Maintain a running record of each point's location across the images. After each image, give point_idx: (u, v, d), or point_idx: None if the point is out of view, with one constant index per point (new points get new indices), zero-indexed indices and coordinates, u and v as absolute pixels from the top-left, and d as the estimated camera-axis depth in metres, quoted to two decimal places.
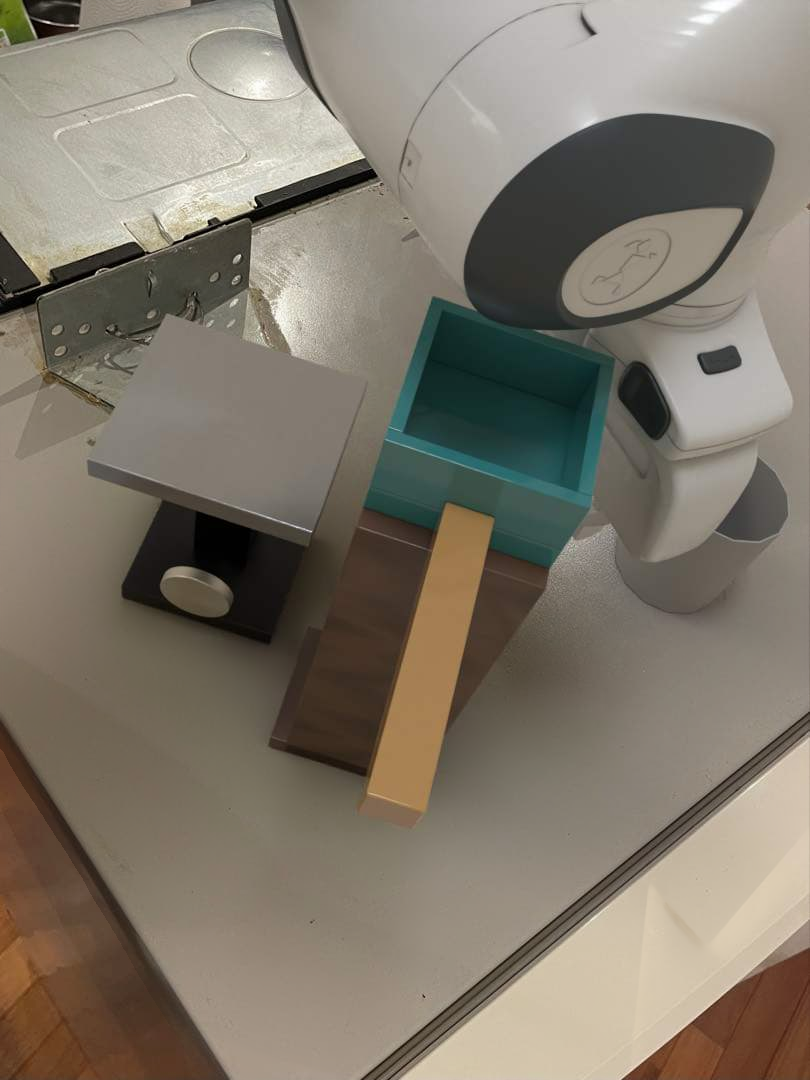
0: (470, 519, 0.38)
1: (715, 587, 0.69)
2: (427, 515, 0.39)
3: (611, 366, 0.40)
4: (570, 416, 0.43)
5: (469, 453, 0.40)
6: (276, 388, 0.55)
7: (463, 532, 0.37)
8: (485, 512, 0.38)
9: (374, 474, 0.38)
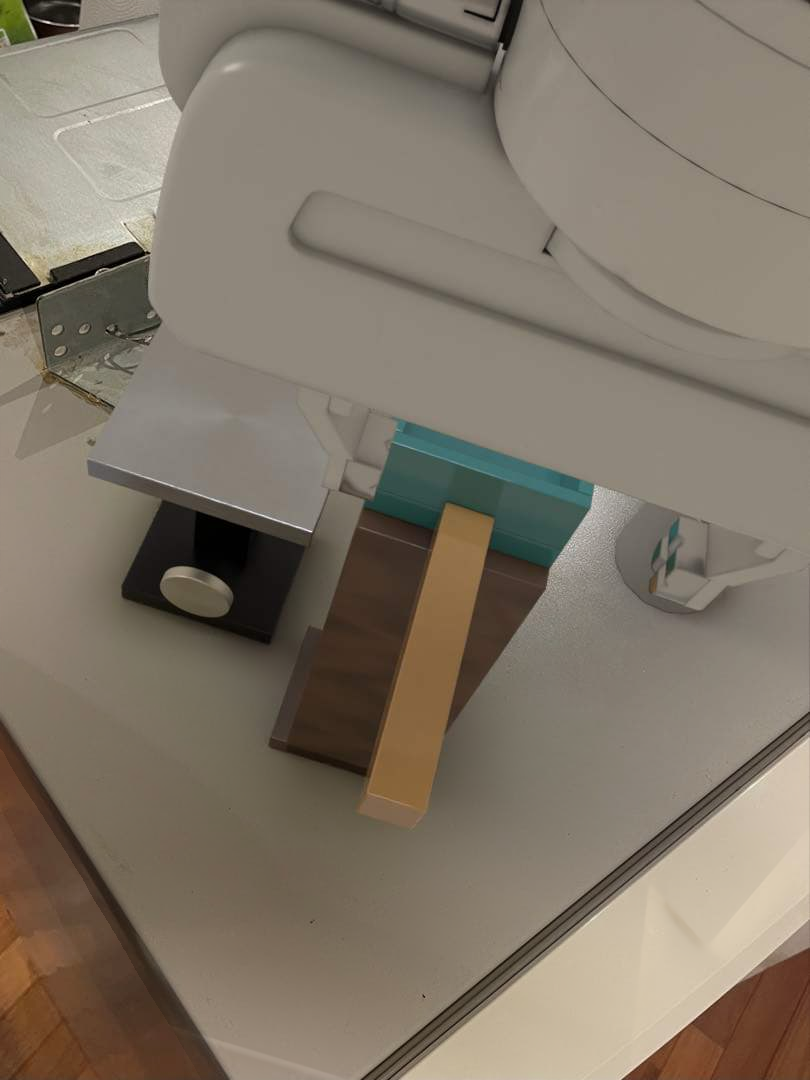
0: (470, 519, 0.38)
1: None
2: (427, 515, 0.39)
3: None
4: None
5: (469, 453, 0.40)
6: (276, 388, 0.55)
7: (463, 532, 0.37)
8: (485, 512, 0.38)
9: None
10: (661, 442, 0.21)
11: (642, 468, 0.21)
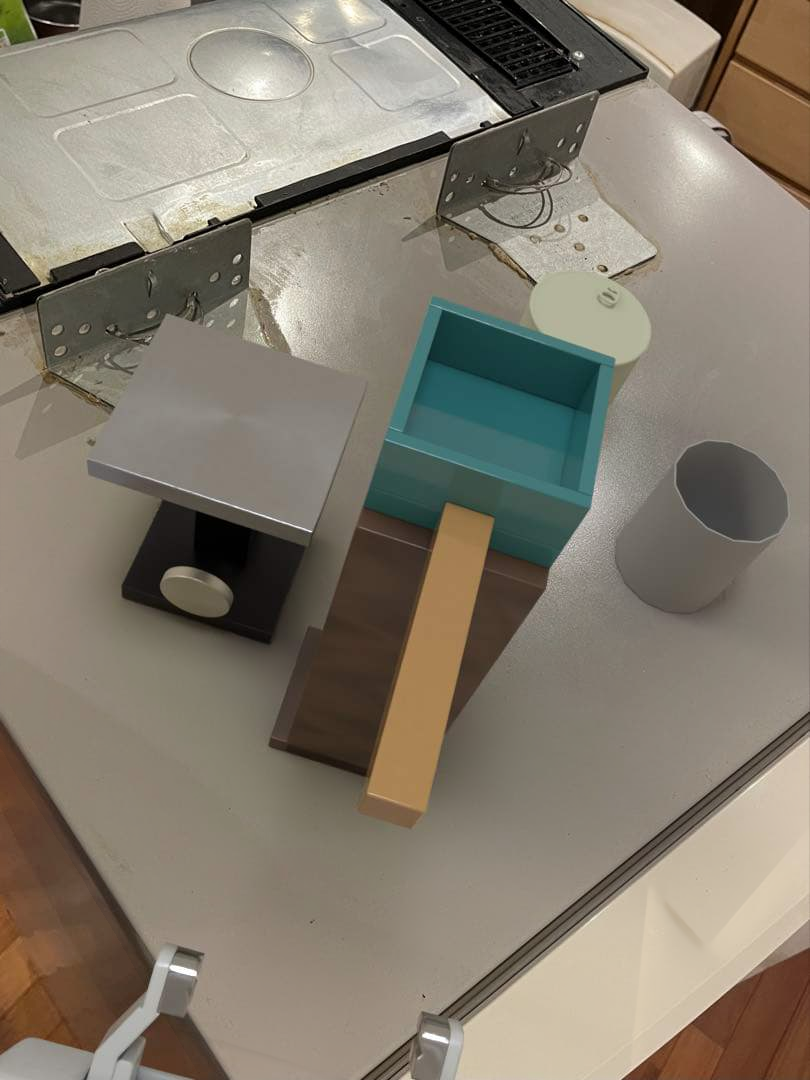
0: (470, 519, 0.38)
1: (715, 587, 0.69)
2: (427, 515, 0.39)
3: (611, 366, 0.40)
4: (570, 416, 0.43)
5: (469, 453, 0.40)
6: (276, 388, 0.55)
7: (463, 532, 0.37)
8: (485, 512, 0.38)
9: (374, 474, 0.38)
10: None
11: None
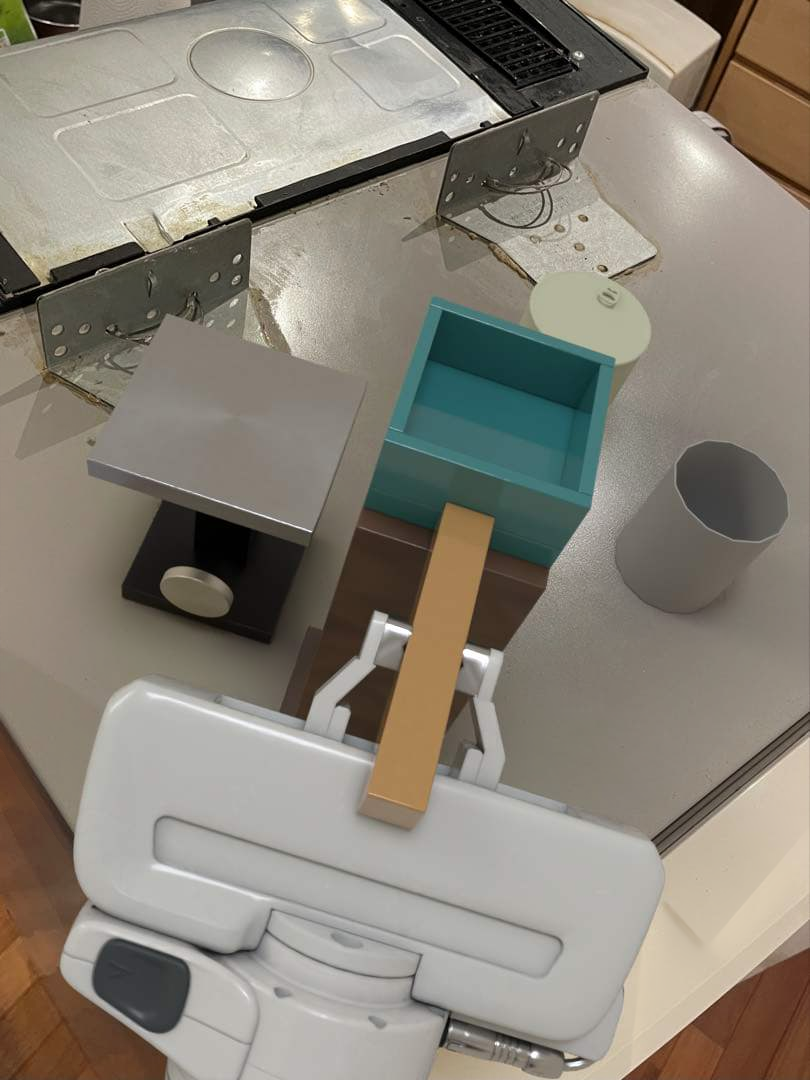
0: (470, 519, 0.38)
1: (715, 587, 0.69)
2: (427, 515, 0.39)
3: (611, 366, 0.40)
4: (570, 416, 0.43)
5: (469, 453, 0.40)
6: (276, 388, 0.55)
7: (463, 532, 0.37)
8: (485, 512, 0.38)
9: (374, 474, 0.38)
10: (343, 818, 0.33)
11: (352, 791, 0.33)
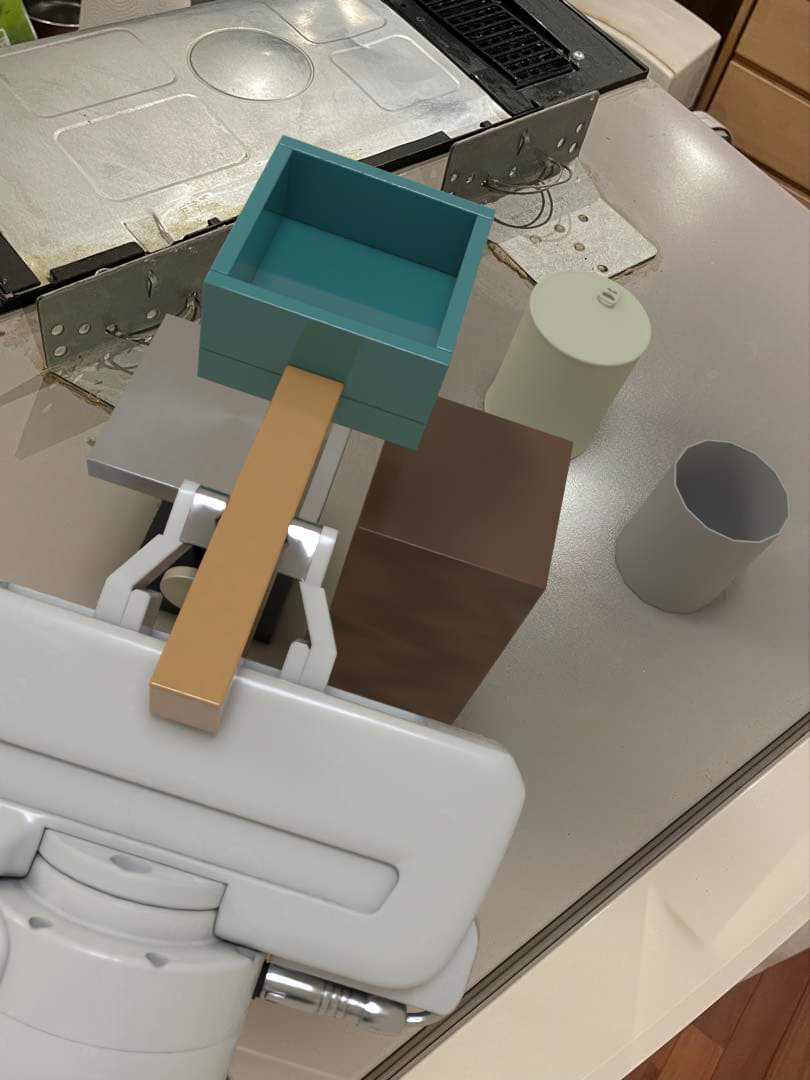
0: (314, 384, 0.32)
1: (715, 587, 0.69)
2: (269, 384, 0.33)
3: (489, 218, 0.35)
4: (449, 284, 0.37)
5: None
6: None
7: (303, 397, 0.32)
8: (332, 377, 0.32)
9: (201, 330, 0.32)
10: (134, 720, 0.28)
11: (145, 688, 0.28)
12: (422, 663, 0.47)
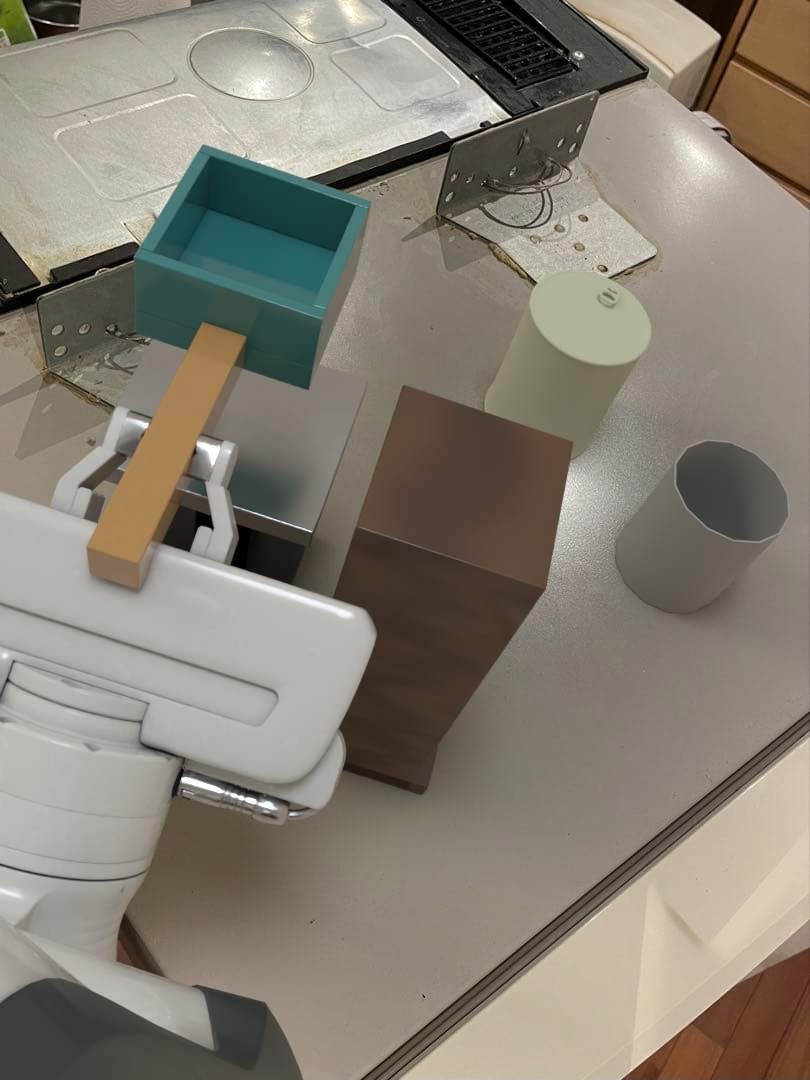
0: (222, 336, 0.42)
1: (715, 587, 0.69)
2: (191, 338, 0.43)
3: (366, 207, 0.44)
4: None
5: None
6: (276, 388, 0.55)
7: (214, 346, 0.41)
8: (237, 331, 0.42)
9: (135, 295, 0.42)
10: (79, 581, 0.37)
11: None
12: (422, 663, 0.47)
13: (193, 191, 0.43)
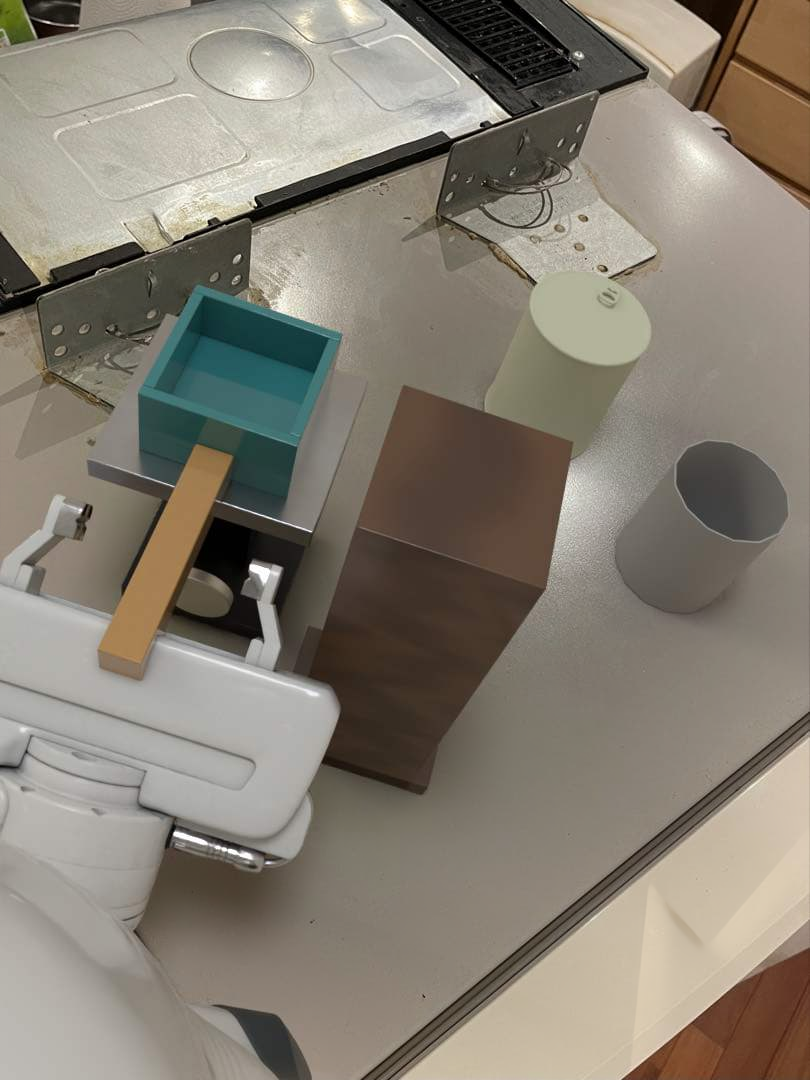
0: (213, 456, 0.49)
1: (715, 587, 0.69)
2: (186, 455, 0.50)
3: (337, 340, 0.51)
4: None
5: (225, 408, 0.51)
6: None
7: (205, 466, 0.48)
8: (226, 451, 0.49)
9: (139, 421, 0.49)
10: (87, 668, 0.44)
11: (94, 647, 0.44)
12: (422, 663, 0.47)
13: (189, 328, 0.50)
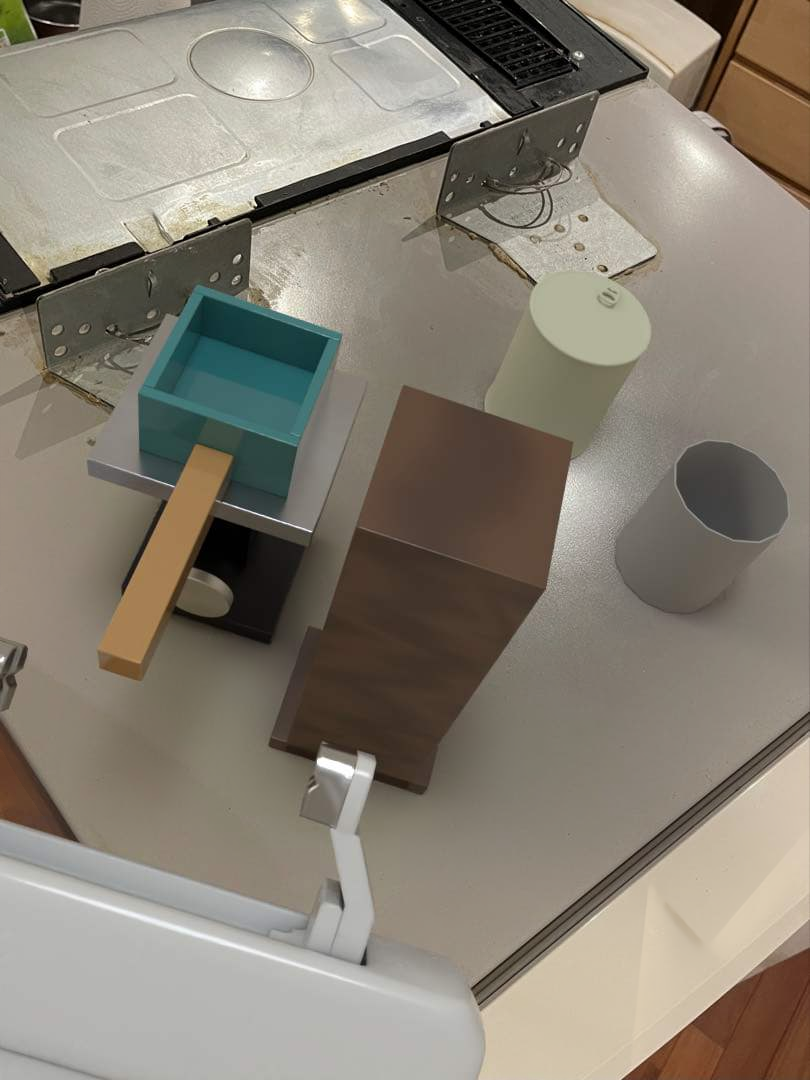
0: (213, 456, 0.49)
1: (715, 587, 0.69)
2: (186, 455, 0.50)
3: (337, 340, 0.51)
4: None
5: (225, 408, 0.51)
6: None
7: (205, 466, 0.48)
8: (226, 451, 0.49)
9: (139, 421, 0.49)
10: (9, 973, 0.23)
11: (22, 934, 0.23)
12: (422, 663, 0.47)
13: (189, 328, 0.50)
